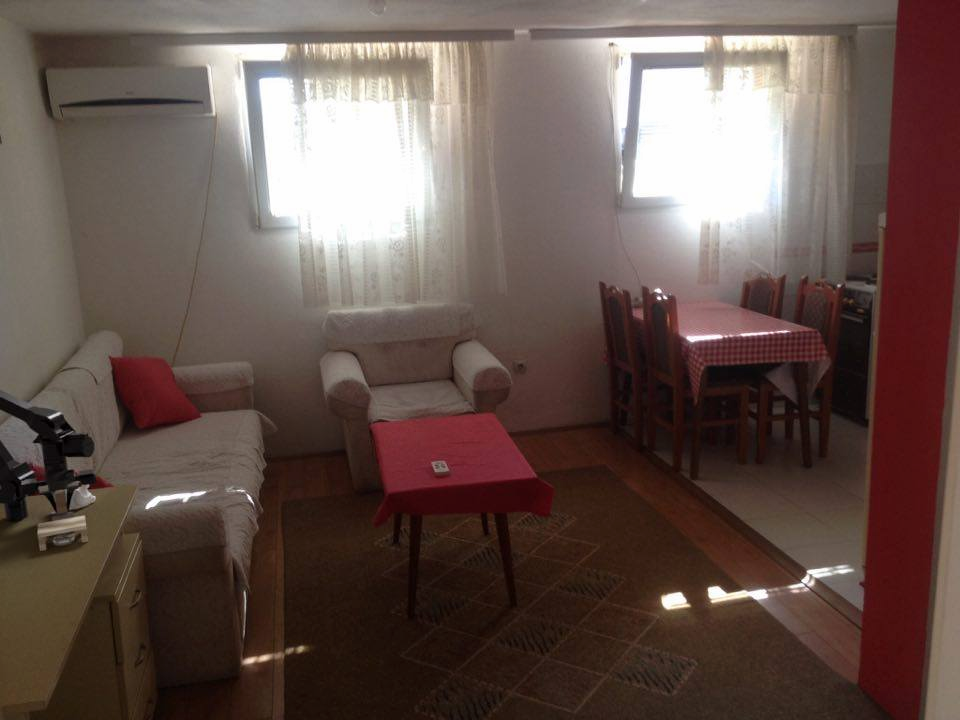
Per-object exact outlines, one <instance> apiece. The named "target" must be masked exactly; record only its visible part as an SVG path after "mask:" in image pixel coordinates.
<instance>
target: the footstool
mask: <svg viewBox="0 0 960 720" xmlns="http://www.w3.org/2000/svg"><path fill="white" fill-rule="evenodd" d="M72 531H75V532H77V531H80V537H81V543H82V544H83V543H87V542H89V538H88V529H87V522H86V515H85V514H84V515H78V516H74V517H72V518H67V519H61V520H56V521H52V520H51V521H45V522H40V523H37V540H38V547H39V551H40V552H42V551H43V552H44V551H47V543H46V542H47V537H50V536H53V535H54V536H57V535H56V534H59V535H61V533H64V534H67V532H69V533H73V532H72Z"/></svg>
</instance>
